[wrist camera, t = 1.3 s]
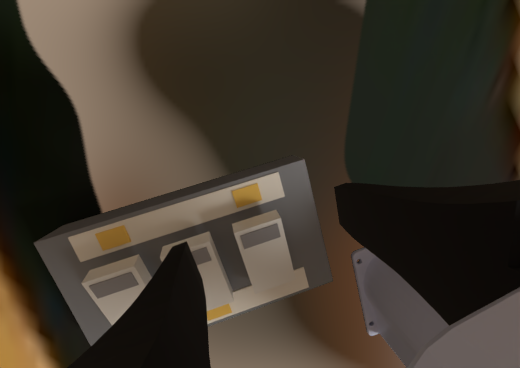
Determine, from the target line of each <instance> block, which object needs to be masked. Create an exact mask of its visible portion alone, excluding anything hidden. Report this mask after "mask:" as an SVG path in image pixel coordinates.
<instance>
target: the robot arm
mask: <svg viewBox="0 0 520 368" xmlns="http://www.w3.org/2000/svg"><path fill="white" fill-rule="evenodd" d="M334 188H335V194H336V202H337V209H338V216H339V222H340V225H341V226H342V227H343V228H344V229H345V230H346V231H347V232H348V233H349V234H350V235H351V236H352V237H353V238H354V239H355V240H356V241H357V242H359V243H360V244H361V245H362V246H364V248H361V249H358V250H355V251H353V253H352V254H351V258H352V263H353V268H354V272H355V277H356V282H357V287H358V292H359V297H360V301H361V306H362V311H363V316H364V320H365V325H366V330H367V332H368V334H369V335H370V336H373V335H376V334H379V333H380V335H381V336H382V337H383V338H384V339H385V341H386V342H387V343H388V345H389V346H390V347H391V348H392V350H393V351H394V352H395V353H396V355H397V356H398V357H399V358H400V360H401V361H402V362H403V363H404V365H405V366H406V367H407V368H520V180H517V181H510V182H502V183H495V184H486V185H475V186H461V187H431V188H424V187H400V186H386V185H375V184H363V183H345V184H342V185H339V186H336V187H334ZM358 259H360V260H359V262H357V260H358ZM67 368H211V367H210V358H209V345H208V325H207V306H206V296H205V291H204V285H203V280H202V277H201V275H200V272H199V270H198V267H197V265H196V262H195V260H194V258H193V255H192V253H191V250H190V248H189V245H188V243H187V241H186V242H184V243H181V244H178V245H175V246H173V247H172V248H171V249H170V251H169V252H168V254H167V256H166V257H165V259H164V260H163V262H162V263H161V265H160V266H159V268H158V270H157V271H156V273H155V274H154V276H153V277H152V278H151V280H150V281H149V282H148V284H147V285H146V287H145V288H144V289H143V291H142V292H141V293H140V295H139V296H138V297H137V298H136V300H135V301H134V302H133V303H132V305H131V306H130V307H129V308H128V309H127V310H126V311H125V313H124V314H123V315H122V316H121V317H120V318H119V319H118V320H117V321H116V322H115V323H114V324H113V325H112V326H111V327H110V328H109V329H108V330H107V331H106V332H105V333H104V334H103V335H102V336H101V337H100V338H99V339H98V340H97V341H96V342H95V343H94V344H93V345H92V346H91V347H90V348H89V349H88V350H87V351H86V352H84V353H83V354H82V355H81V356H80V357H79V358H78V359H77V360H76V361H74V362H73V363H72V364H71V365H70V366H69V367H67Z"/></svg>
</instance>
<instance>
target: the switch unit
mask: <svg viewBox="0 0 520 368" xmlns="http://www.w3.org/2000/svg"><path fill="white" fill-rule="evenodd" d="M273 210H277V212H278V214H279V216H280V217H281V221H282V225H283V229H284V233H285V237H286V241H287V245H288V249H289V253H290V257H291V261H292V266H293V270H294V274H295V278H296V280H293V281H290V282H287V283H285V284H282V285H279V286H276V287H273V288H271V289H268V290H265V291H262V292H259V293H257V294H255V293H254V290H253V287H252V284H251V281H250V278H249V276H248V273H247V270H246V267H245V264H244V261H243V258H242V255H241V253H240V250H239V247H238V244H237V241H236V238H235V235H234V232H233V227H232V224H233V223H236V222H239V221H242V220H246V219H249V218H252V217H255V216H258V215H261V214H264V213H267V212H270V211H273ZM206 232H210V234H211V237H212V239H213V242H214V245H215V247H216V250H217V252H218V255H219V257H220V260H221V262H222V265H223V267H224V270H225V272H226V275H227V277H228V280H229V282H230V285H231V287H232V291H233V298H234V302H231V303H229V304H226V305H223V306H220V307H217V308H215V309H212V310H209V311H207V325H208V326H211V325H214V324H216V323H219V322H222V321H225V320H227V319H230V318H233V317H235V316H238V315H241V314H244V313H247V312H249V311H252V310H255V309H258V308H260V307H263V306H266V305H268V304H271V303H274V302H277V301H279V300H282V299H285V298H288V297H291V296H293V295H296V294H299V293H301V292H304V291H307V290H310V289H313V288H315V287H318V286H321V285H324V284H326V283H329V282H332V281H333V278H332V274H331V270H330V265H329V261H328V257H327V253H326V248H325V244H324V240H323V236H322V231H321V227H320V223H319V219H318V215H317V210H316V206H315V202H314V198H313V193H312V189H311V185H310V180H309V176H308V172H307V168H306V163H305V160H304V159H302V158H299V157H296V156H293V155H291V156H288V157H285V158H282V159H278V160H275V161H272V162H269V163H265V164H262V165H259V166H255V167H253V168H249V169H246V170H242V171H239V172H236V173H233V174H230V175H226V176H223V177H220V178H216V179H213V180H210V181H207V182H203V183H200V184H197V185H194V186H190V187H187V188H184V189H180V190H177V191H174V192H171V193H167V194H164V195H161V196H157V197H154V198H151V199H148V200H144V201H141V202H138V203H135V204H131V205H128V206H125V207H121V208H118V209H115V210H112V211H108V212H105V213H102V214H99V215H95V216H92V217H89V218H85V219H82V220H79V221H76V222H72V223H69V224H66V225H63V226H61V227H59V228H58V229H56V230H54V231H53V232H51V233H49V234H48V235H46V236H44V237H43V238H41V239H39V240H38V241H36V242H34V245H35V247H36V248H37V250H38V252H39V254H40V256H41V257H42V259H43V261H44V263H45V265H46V266H47V268H48V270H49V272H50V274H51V275H52V277H53V279H54V281H55V282H56V284H57V286H58V288H59V290H60V291H61V293H62V295H63V297H64V299H65V300H66V302H67V304H68V306H69V308H70V309H71V311H72V313H73V315H74V316H75V318H76V320H77V322H78V324H79V325H80V327H81V329H82V331H83V333H84V334H85V336H86V338H87V340H88V342H89V343H90V345H91V346H92V345H93V344H94V343H95V342H96V341H97V340H98V339H99V338H100V337H101V336H102V335H103V334H104V333H105V332H106V331H107V330H108V329H109V328H110V327H111V326H112V325H111V323H110V322H109V321H108V319H107V318H106V317H105V315H104V314H103V312H102V311H101V310H100V308H99V307H98V306H97V304H96V303H95V302H94V300H93V299H92V297H91V296H90V295H89V293H88V292H87V291H86V289H85V288H84V287H83V285H82V284H81V283H82V282H83V280H84V278H85V277H86V275H87V274H88V272H89V270H92V269H95V268H98V267H101V266H104V265H107V264H111V263H114V262H117V261H120V260H123V259H126V258H129V257H132V256H135V255H138V254H139V256H140V257H141V259H142V261H143V263H144V264H145V266H146V268H147V270H148V272H149V273H150V275H151V277H153V276H154V274H155V273H156V271H157V270H158V268H159V266H160V265H161V263H162V261H161V259H160V255H161V251H162V247H163V246H166V245H169V244H172V243H175V242H178V241H181V240H184V239H187V238H190V237H193V236H196V235H200V234H203V233H206Z"/></svg>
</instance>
